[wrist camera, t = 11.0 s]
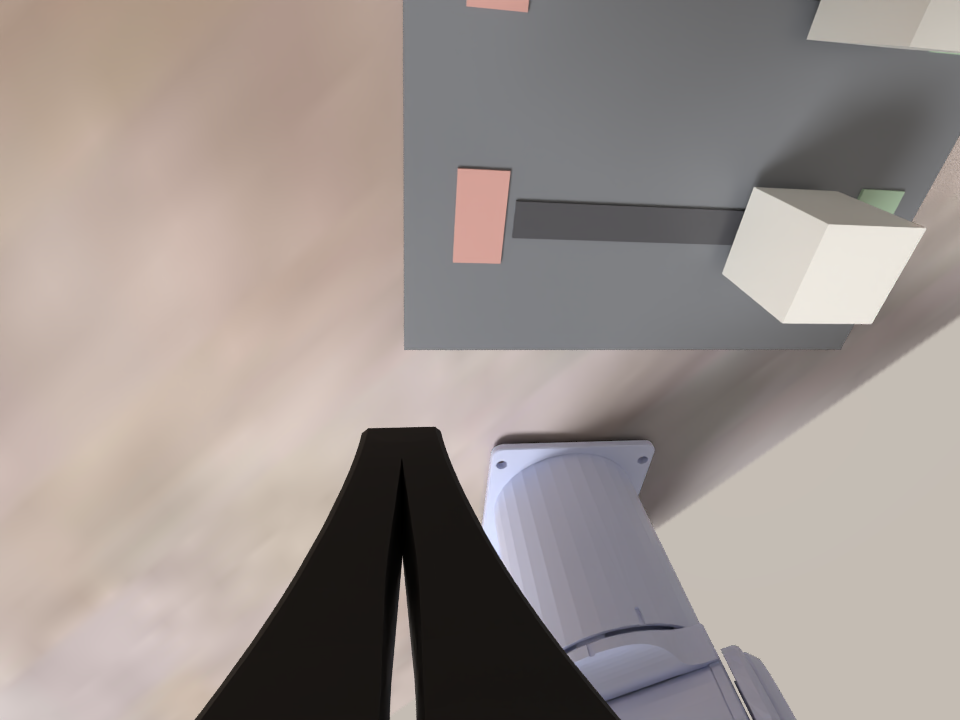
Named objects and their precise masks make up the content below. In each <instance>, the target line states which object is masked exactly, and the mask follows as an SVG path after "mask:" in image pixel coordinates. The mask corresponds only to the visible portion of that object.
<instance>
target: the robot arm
mask: <svg viewBox="0 0 960 720" xmlns="http://www.w3.org/2000/svg"><path fill="white" fill-rule="evenodd" d="M654 452H655V448H654V446H653V444H652V443H651V442H650V441H648V440H631V441H596V442H560V443H525V444H501V445H497V446H495V447H494V448H493V449H492V451H491V457H490V465H489V473H488V481H487V489H486V497H485V505H484V513H483V522H482V526H481V524H480V522H479V520H478V518H477V516H476V515H475V513H474V511H473V509H472V507H471V505H470V503H469V501H468V499H467V497H466V495H465V493H464V491H463V489H462V487H461V485H460V483H459V480H458V478H457V476H456V473H455V471H454V469H453V467H452V464H451V461H450V459H449V456H448V454H447V451H446V448H445V445H444V442H443V438H442V434H441V431H440V430H438V429H437V428H436V427H406V428H368V429H367V430H366V431H364V432H363V433H362V435H361V439H360V443H359V446H358V449H357V452H356V455H355V458H354V460H353V463H352V466H351V468H350V471H349V473H348V475H347V477H346V480H345V482H344V484H343V487H342V489H341V491H340V493H339V495H338V497H337V499H336V501H335V503H334V505H333V507H332V509H331V511H330V513H329V515H328V517H327V519H326V521H325V523H324V525H323V527H322V529H321V531H320V533H319V535H318V536H317V538H316V540H315V542H314V543H313V545H312V547H311V549H310V550H309V552H308V554H307V556H306V557H305V559H304V561H303V563H302V565H301V566H300V568H299V570H298V572H297V573H296V575H295V577H294V578H293V580H292V582H291V583H290V585H289V586H288V588H287V590H286V591H285V593H284V594H283V596H282V598H281V599H280V601H279V602H278V604H277V605H276V607H275V608H274V610H273V612H272V613H271V615H270V616H269V618H268V619H267V621H266V622H265V624H264V625H263V626H262V628H261V629H260V631H259V632H258V634H257V635H256V637H255V638H254V640H253V641H252V643H251V644H250V646H249V647H248V648H247V650H246V651H245V652H244V654H243V655H242V657H241V658H240V659H239V661H238V662H237V664H236V665H235V666H234V668H233V669H232V671H231V672H230V673H229V675H228V676H227V677H226V679H225V680H224V682H223V683H222V684H221V686H220V687H219V689H218V690H217V691H216V693H215V694H214V695H213V697H212V698H211V699H210V701H209V702H208V703H207V704H206V706H205V707H204V708H203V710H202V711H201V712H200V714H199V715H198V716H197V718H196V719H195V720H390V697H391V680H392V668H393V657H394V646H395V635H396V624H397V612H398V601H399V590H400V579H401V567H402V556H403V565H404V576H405V586H406V596H407V607H408V617H409V627H410V637H411V648H412V658H413V668H414V678H415V694H416V715H417V716H416V717H417V720H750V719H749V717H748V715H747V713H746V711H745V709H744V707H743V705H742V703H741V701H740V699H739V697H738V695H737V693H736V691H735V689H734V686H733V685H732V682H731V680H730V678H729V676H728V674H727V672H726V670H725V668H724V666H723V664H722V662H721V660H720V658H719V656H718V654H717V652H716V650H715V649H714V646H713V644H712V642H711V640H710V638H709V636H708V634H707V632H706V630H705V628H704V626H703V625H702V624H700V623H699V621H698V619H697V616H696V614H695V613H694V610H693V608H692V606H691V604H690V602H689V600H688V598H687V596H686V594H685V592H684V590H683V588H682V586H681V583H680V582H679V579H678V577H677V575H676V573H675V571H674V569H673V567H672V565H671V563H670V561H669V559H668V557H667V555H666V553H665V551H664V548H663V546H662V544H661V542H660V541H659V538H658V536H657V534H656V532H655V530H654V528H653V526H652V524H651V522H650V520H649V518H648V516H647V513H646V511H645V509H644V507H643V505H642V503H641V501H640V499H639V497H638V496H639V493H640V490H641V487H642V485H643V482H644V479H645V477H646V474H647V471H648V468H649V466H650V463H651V460H652V457H653V455H654ZM640 457H641V458H640ZM500 461H504V462H502V463H498V462H500ZM721 651H722V653H723V655H724V657H725V659H726V661H727V663H728V665H729V668H730V670H731V671H732V674H733V675H734V678H735V679H736V681H734V682H735V684H736V686H737V688H738V691H739V693H740V695H741V697H742V699H743V701H744V703H745V704H746V707H747V709H748V711H749V713H750V715H751V717H752V719H753V720H796V718H795V716H794V715H793V713H792V711H791V709H790V708H789V706H788V704H787V702H786V701H785V699H784V697H783V695H782V694H781V692H780V690H779V688H778V687H777V685H776V683H775V682H774V680H773V678H772V677H771V675H770V673H769V672H768V670H767V669H766V667H765V666H764V664H763V663H762V661H761V660H760V659H759V658H757V657H755V656H753V655H750V654H748V653H746V652H744V653H743V652H742V650H741V649H740V648H739V647H738V646H735V645H731V646H729V647H726V648H723V649H721Z"/></svg>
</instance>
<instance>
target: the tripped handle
mask: <svg viewBox="0 0 960 720" xmlns="http://www.w3.org/2000/svg"><path fill="white" fill-rule="evenodd" d="M926 229H927V228H925V227H923V226H920V225H918V224H915V223H913V222H910V221H908V220H906V219H903V218H901V217H898V216H896V215H894V214H891V213H889V212H886V211H884V210H881V209H879V208H877V207H874V206H872V205H869V204H867V203H865V202H862V201H860V200H857V199H855V198H852V197H850V196H848V195H845V194H843V193H840V192H838V191H824V190H804V189H784V188H765V187H754V188H753V191H752V193H751V196H750V199H749V201H748V204H747V207H746V210H745V212H744V215H743V218H742V220H741V223H740V226H739V229H738V231H737V234H736V237H735V239H734V242H733V245H732V248H731V250H730V253H729V256H728V258H727V261H726V264H725V267H724V269H723V272H722V274H723V275H724V276H725V277H727V278H728V279H729V280H730V281H731V282H733V283H734V284H735V285H736V286H737V287H739V288H740V289H741V290H742V291H744V292H745V293H746V294H747V295H748V296H750V297H751V298H752V299H753V300H755V301H756V302H757V303H758V304H759V305H761V306H762V307H763V308H764V309H765V310H767V311H768V312H769V313H770V314H772V315H773V316H774V317H775V318H776V319H778V320H779V321H780V322H781V323H791V324H872V322H873V321H874V319H875V317H876V315H877V314H878V312H879V310H880V308H881V307H882V305H883V303H884V302H885V300H886V298H887V296H888V295H889V293H890V291H891V289H892V288H893V286H894V284H895V282H896V281H897V279H898V277H899V276H900V274H901V272H902V270H903V269H904V267H905V265H906V263H907V262H908V260H909V258H910V256H911V255H912V253H913V251H914V250H915V248H916V246H917V244H918V243H919V241H920V239H921V237H922V236H923V234H924V232H925V230H926Z"/></svg>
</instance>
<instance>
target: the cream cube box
mask: <svg viewBox="0 0 960 720" xmlns="http://www.w3.org/2000/svg"><path fill="white" fill-rule="evenodd" d="M806 40H816V41H826V42H837V43H847V44H857V45H867V46H877V47H887V48H897V49H910V50H923V51H936V52H949V53H960V0H821V1H820V4H819V7H818V9H817V12H816V15H815V17H814V20H813V23H812V26H811V28H810V31H809V34H808V37H807V39H806Z"/></svg>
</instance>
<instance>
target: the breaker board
mask: <svg viewBox="0 0 960 720" xmlns="http://www.w3.org/2000/svg"><path fill="white" fill-rule="evenodd" d="M820 1H821V0H403V103H404V350H841V348H842V346H843V344H844V342H845V341H846V339H847V337H848V335H849V333H850V332H851V330H852V328H853V326H854V324H791V323H781V322H780V321H779V320H778V319H776V318H775V317H774V316H773V315H772V314H770V313H769V312H768V311H767V310H765V309H764V308H763V307H762V306H761V305H759V304H758V303H757V302H756V301H755V300H753V299H752V298H751V297H750V296H748V295H747V294H746V293H745V292H744V291H742V290H741V289H740V288H739V287H737V286H736V285H735V284H734V283H733V282H731V281H730V280H729V279H728V278H727V277H725V276H724V275H723V274H722V272H723V269H724V267H725V264H726V261H727V258H728V256H729V253H730V250H731V248H732V245H733V242H734V239H735V237H736V234H737V231H738V229H739V226H740V223H741V220H742V218H743V215H744V212H745V210H746V207H747V204H748V201H749V199H750V196H751V193H752V191H753V188H754V187H765V188H784V189H804V190H824V191H838V192H840V193H843V194H845V195H848V196H850V197H852V198H855V199H857V200H860V201H862V202H865V203H867V204H869V205H872V206H874V207H877V208H879V209H881V210H884V211H886V212H889V213H891V214H894V215H896V216H898V217H901V218H903V219H906V220H908V221H910V222H912V220H913V218H914V216H915V215H916V213H917V211H918V209H919V207H920V206H921V204H922V202H923V200H924V198H925V197H926V195H927V193H928V191H929V190H930V188H931V186H932V184H933V182H934V181H935V179H936V177H937V175H938V173H939V172H940V170H941V168H942V166H943V164H944V163H945V161H946V159H947V157H948V155H949V154H950V152H951V150H952V148H953V146H954V145H955V143H956V141H957V139H958V137H959V136H960V53H949V52H936V51H923V50H910V49H897V48H887V47H877V46H867V45H857V44H847V43H837V42H826V41H816V40H806V39H807V37H808V34H809V31H810V28H811V26H812V23H813V20H814V17H815V15H816V12H817V9H818V7H819V4H820Z"/></svg>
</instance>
